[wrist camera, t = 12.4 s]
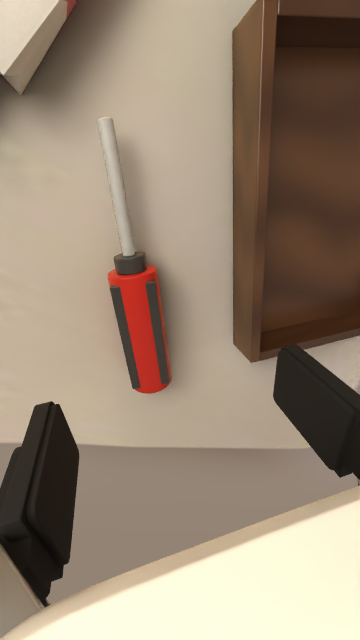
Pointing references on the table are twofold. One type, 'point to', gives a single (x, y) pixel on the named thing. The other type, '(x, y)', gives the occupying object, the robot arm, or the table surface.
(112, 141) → the screwdriver
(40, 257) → the table surface
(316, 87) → the wooden tray
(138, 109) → the table surface
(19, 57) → the paintbrush
